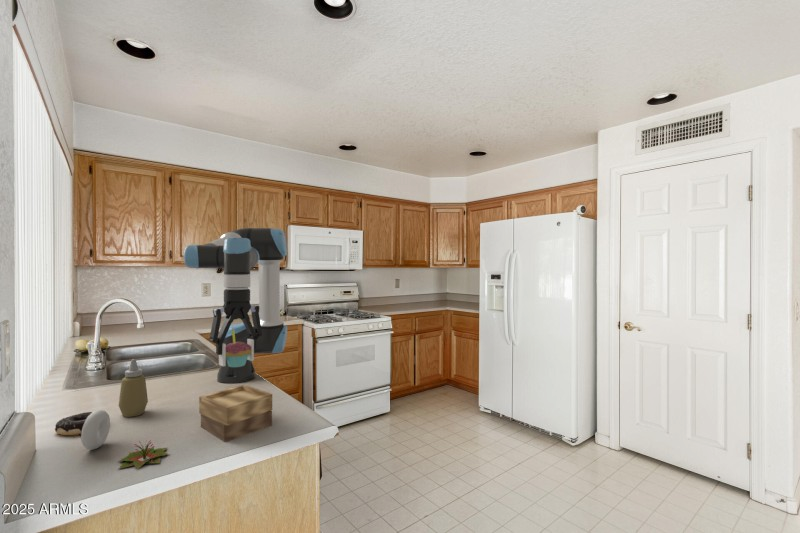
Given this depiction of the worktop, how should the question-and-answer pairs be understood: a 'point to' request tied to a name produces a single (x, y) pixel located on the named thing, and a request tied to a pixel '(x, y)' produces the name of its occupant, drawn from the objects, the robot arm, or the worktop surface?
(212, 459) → the worktop surface
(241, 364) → the cupcake
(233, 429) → the tower base
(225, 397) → the tower top
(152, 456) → the lily flower
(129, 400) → the squeeze bottle
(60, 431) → the donut
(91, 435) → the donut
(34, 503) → the worktop surface
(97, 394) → the worktop surface
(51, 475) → the worktop surface
